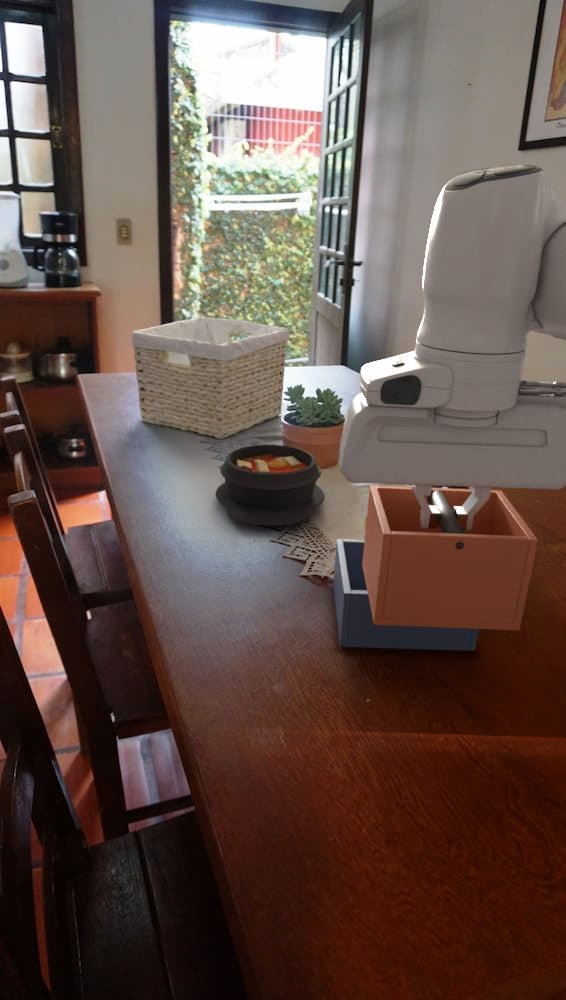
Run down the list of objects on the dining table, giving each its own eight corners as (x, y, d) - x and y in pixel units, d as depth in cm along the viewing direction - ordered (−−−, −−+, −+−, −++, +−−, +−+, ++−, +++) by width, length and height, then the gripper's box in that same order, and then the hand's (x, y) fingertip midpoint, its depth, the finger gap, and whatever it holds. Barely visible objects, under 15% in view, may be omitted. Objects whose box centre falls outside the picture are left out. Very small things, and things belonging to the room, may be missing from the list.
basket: (224, 445, 145) (224, 341, 136) (130, 422, 158) (124, 326, 149) (290, 416, 166) (293, 325, 158) (202, 398, 179) (201, 313, 170)
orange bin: (487, 569, 71) (501, 489, 67) (520, 631, 61) (538, 540, 57) (362, 565, 71) (369, 484, 67) (374, 625, 61) (383, 534, 57)
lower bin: (449, 594, 91) (457, 542, 88) (474, 656, 79) (484, 597, 76) (332, 590, 91) (336, 538, 88) (339, 651, 79) (344, 593, 76)
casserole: (325, 539, 105) (328, 488, 102) (205, 533, 106) (204, 483, 102) (323, 479, 128) (325, 437, 125) (224, 475, 129) (224, 433, 125)
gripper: (574, 374, 60) (545, 516, 66) (343, 366, 60) (333, 509, 66) (604, 392, 54) (570, 546, 60) (348, 383, 54) (337, 538, 60)
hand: (444, 527), depth 63 cm, fingers closed on orange bin
